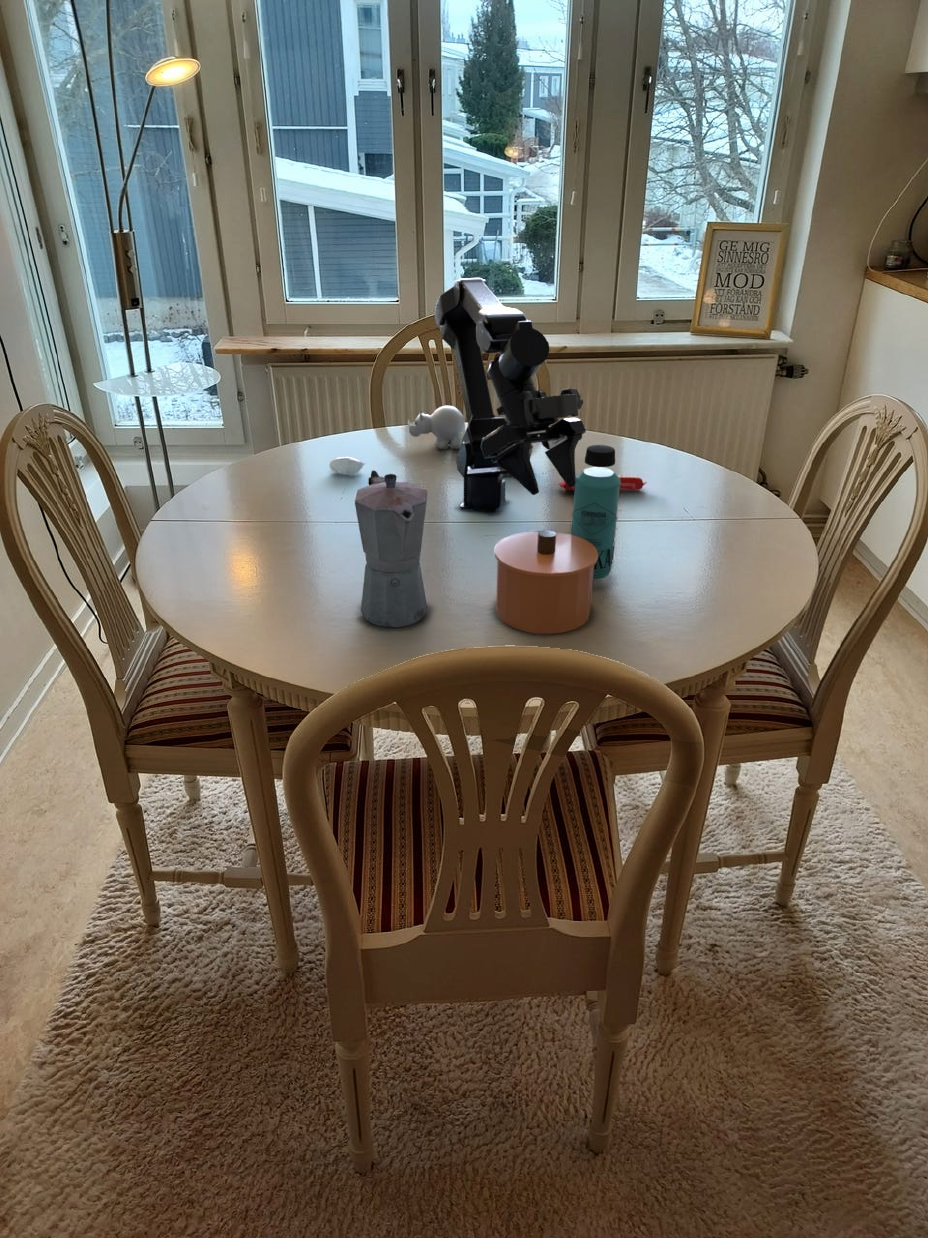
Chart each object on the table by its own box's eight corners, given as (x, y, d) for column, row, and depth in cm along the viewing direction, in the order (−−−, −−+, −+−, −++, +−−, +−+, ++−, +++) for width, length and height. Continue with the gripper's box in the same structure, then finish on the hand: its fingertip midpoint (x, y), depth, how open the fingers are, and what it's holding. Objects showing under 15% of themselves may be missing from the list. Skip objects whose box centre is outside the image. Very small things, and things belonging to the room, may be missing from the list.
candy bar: (642, 487, 161) (644, 472, 159) (647, 494, 158) (648, 478, 156) (557, 487, 160) (558, 472, 159) (559, 494, 157) (560, 479, 156)
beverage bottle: (562, 571, 129) (571, 440, 119) (606, 569, 129) (618, 439, 120) (571, 590, 123) (581, 455, 113) (616, 588, 124) (630, 454, 114)
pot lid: (479, 571, 110) (480, 545, 108) (512, 532, 121) (513, 508, 120) (583, 588, 106) (585, 561, 104) (607, 546, 117) (609, 522, 115)
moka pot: (381, 645, 109) (374, 496, 100) (339, 595, 121) (329, 458, 112) (448, 628, 113) (448, 483, 103) (401, 582, 125) (396, 448, 115)
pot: (483, 623, 114) (484, 565, 110) (513, 584, 125) (515, 530, 120) (575, 641, 110) (580, 581, 106) (598, 599, 121) (603, 543, 117)
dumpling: (330, 481, 164) (325, 460, 163) (333, 477, 169) (328, 457, 168) (366, 474, 164) (361, 453, 162) (368, 470, 169) (364, 450, 167)
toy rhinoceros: (409, 440, 186) (408, 401, 182) (464, 441, 186) (464, 401, 182) (406, 451, 179) (405, 410, 175) (464, 451, 179) (464, 410, 175)
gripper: (514, 368, 116) (556, 475, 116) (592, 365, 130) (630, 461, 129) (461, 406, 124) (500, 506, 124) (540, 400, 137) (575, 490, 137)
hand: (555, 489), depth 128 cm, fingers open, 9 cm apart
